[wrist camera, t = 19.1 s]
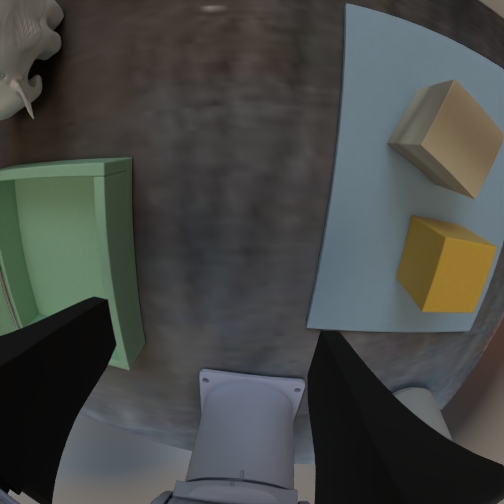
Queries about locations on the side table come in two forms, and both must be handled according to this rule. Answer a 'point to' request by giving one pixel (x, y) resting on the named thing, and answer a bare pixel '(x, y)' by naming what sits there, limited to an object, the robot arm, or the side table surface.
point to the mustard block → (444, 266)
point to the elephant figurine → (25, 49)
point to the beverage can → (423, 407)
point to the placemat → (395, 176)
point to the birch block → (448, 137)
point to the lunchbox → (72, 243)
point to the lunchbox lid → (5, 315)
